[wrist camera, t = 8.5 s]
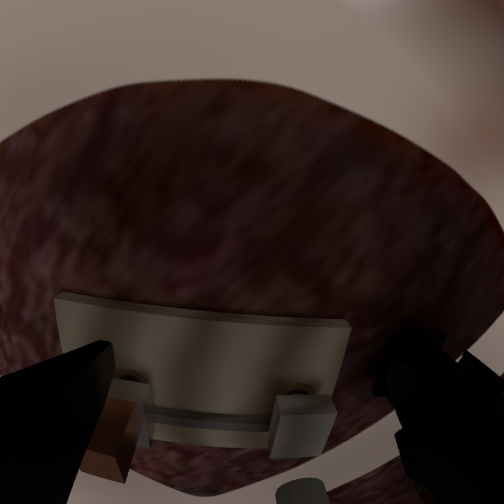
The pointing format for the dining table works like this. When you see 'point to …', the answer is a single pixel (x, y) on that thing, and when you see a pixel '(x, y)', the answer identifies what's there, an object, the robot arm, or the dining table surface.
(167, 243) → the dining table surface
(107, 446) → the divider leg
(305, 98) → the dining table surface
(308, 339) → the board
